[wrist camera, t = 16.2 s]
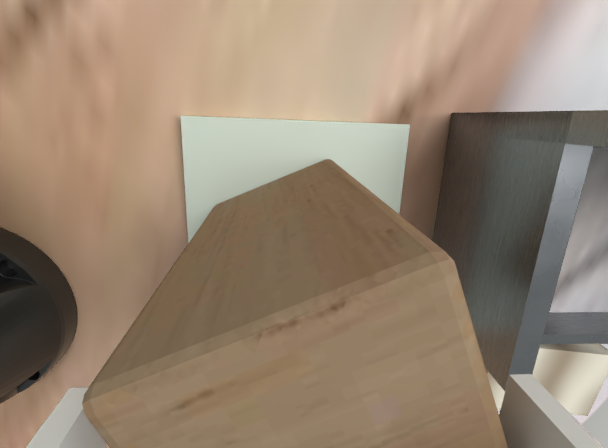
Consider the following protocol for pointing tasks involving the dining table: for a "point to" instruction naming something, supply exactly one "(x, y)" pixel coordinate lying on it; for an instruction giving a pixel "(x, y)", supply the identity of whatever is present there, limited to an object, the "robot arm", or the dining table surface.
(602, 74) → the dining table surface
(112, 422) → the wooden block
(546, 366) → the cream offcut
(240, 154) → the sage mat
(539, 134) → the rack
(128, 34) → the dining table surface
